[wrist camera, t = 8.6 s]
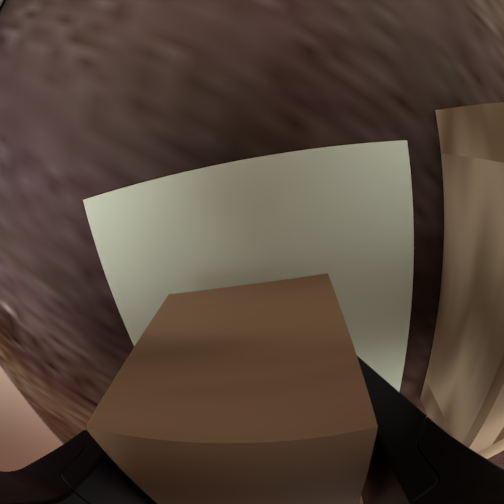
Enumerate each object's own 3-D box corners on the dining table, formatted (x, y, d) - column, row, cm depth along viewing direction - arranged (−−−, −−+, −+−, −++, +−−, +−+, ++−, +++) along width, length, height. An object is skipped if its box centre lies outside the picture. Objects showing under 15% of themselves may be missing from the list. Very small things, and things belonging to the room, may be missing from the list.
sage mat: (396, 392, 12) (398, 398, 11) (173, 413, 13) (171, 419, 13) (402, 140, 8) (407, 140, 8) (88, 198, 10) (83, 200, 9)
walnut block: (334, 389, 9) (353, 518, 5) (208, 400, 10) (177, 520, 5) (328, 273, 8) (377, 426, 3) (168, 294, 8) (85, 427, 4)
